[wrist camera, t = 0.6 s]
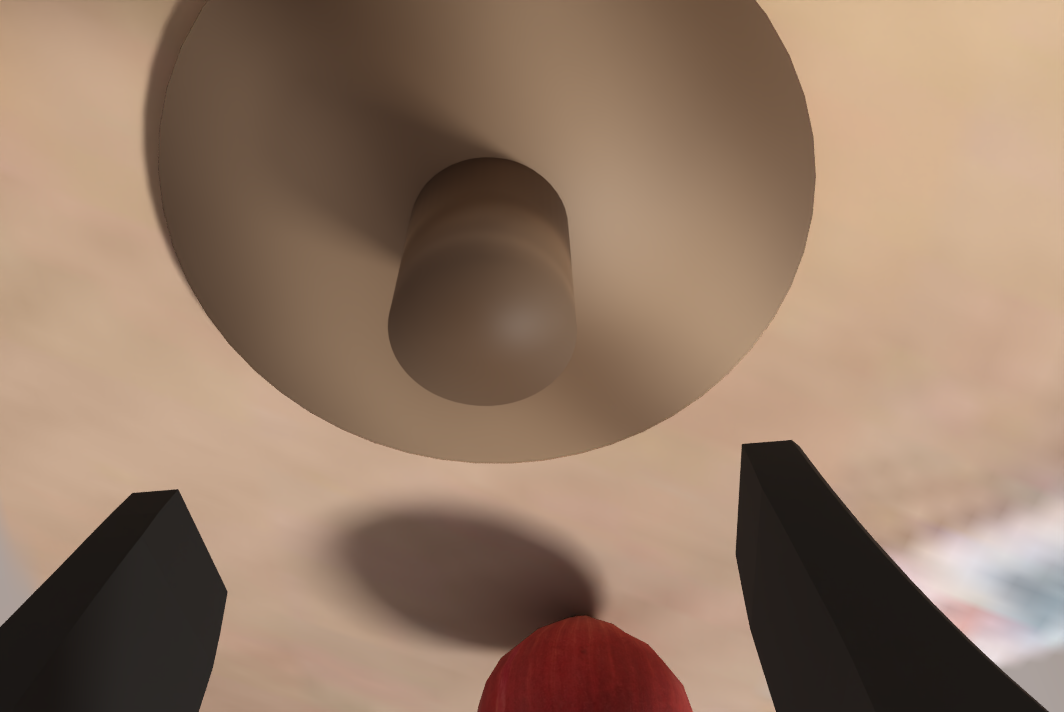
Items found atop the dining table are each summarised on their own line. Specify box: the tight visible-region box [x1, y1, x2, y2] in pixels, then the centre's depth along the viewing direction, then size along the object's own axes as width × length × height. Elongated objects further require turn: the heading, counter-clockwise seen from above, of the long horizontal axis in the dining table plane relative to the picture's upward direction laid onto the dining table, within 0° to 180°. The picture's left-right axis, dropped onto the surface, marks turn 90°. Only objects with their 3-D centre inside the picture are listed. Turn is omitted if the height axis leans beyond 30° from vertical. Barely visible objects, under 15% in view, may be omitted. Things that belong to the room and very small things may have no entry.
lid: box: [158, 0, 816, 463], centre depth 16 cm, size 13×13×4 cm
